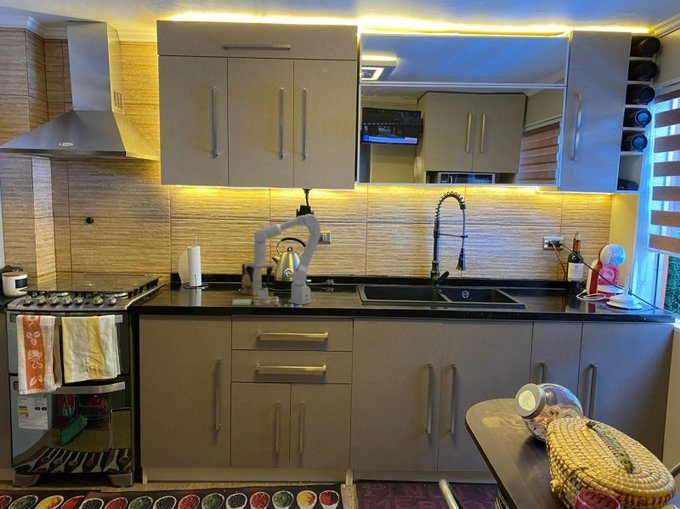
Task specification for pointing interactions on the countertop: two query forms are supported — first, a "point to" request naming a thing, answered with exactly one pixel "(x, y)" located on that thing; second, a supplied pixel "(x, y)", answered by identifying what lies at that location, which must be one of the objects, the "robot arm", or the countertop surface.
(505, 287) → the countertop surface
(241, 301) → the rubber pad
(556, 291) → the countertop surface
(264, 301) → the birch frame
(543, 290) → the countertop surface
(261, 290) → the knob-topped grey cube
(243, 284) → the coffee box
